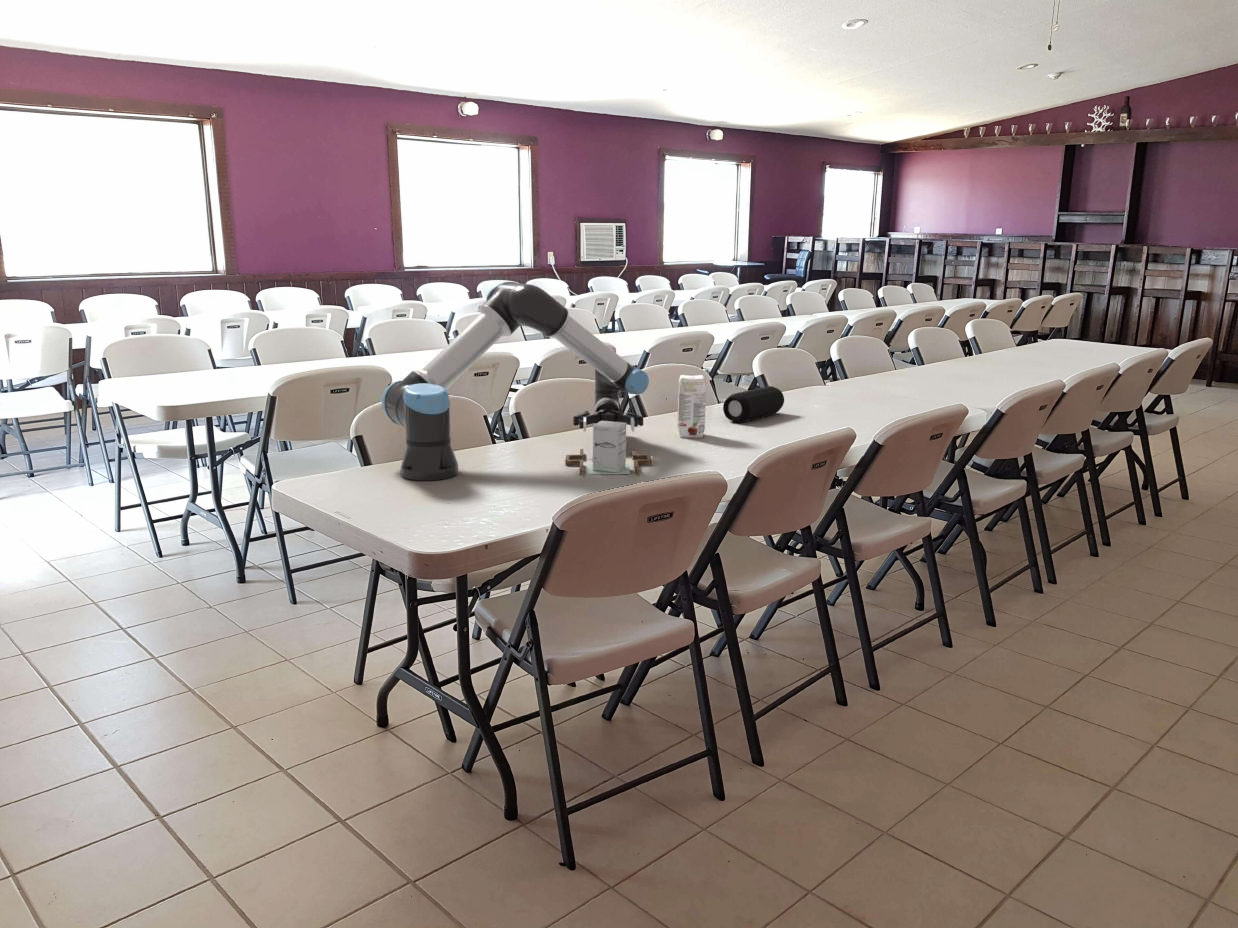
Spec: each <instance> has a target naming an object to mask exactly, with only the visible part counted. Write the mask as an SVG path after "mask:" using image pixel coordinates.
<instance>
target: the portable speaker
mask: <svg viewBox="0 0 1238 928" xmlns="http://www.w3.org/2000/svg"><path fill="white" fill-rule="evenodd" d="M784 404H785V396H784V394H783V391H781V390H780V389H779V388H777V387H774V386H772V385H768V386H763V387H758V388H753V389H749V390H745V391H744V390H743V391H740V392H736V393H733V394H731V395H729V396H728V397H727V398H726V399H725V400H724V402H723V405H722V407H723V408H722V410H723V411H722V412H723V414H724V416H725V417H726V418H727V419H728V420H729V421H731V422H734V423H738V424H739V423H744V422H748V421H752V419H753V420H757V419H759V418H760V419H761V418H763V416H764V417H767V415H768V416H772V415H774V414H776V413H778V412H779V411H780V410H781V409H782V407H783V406H784ZM771 414H772V415H771ZM756 418H757V419H756Z"/></svg>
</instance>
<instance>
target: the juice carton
mask: <svg viewBox="0 0 1238 928" xmlns="http://www.w3.org/2000/svg"><path fill="white" fill-rule="evenodd" d="M677 387H678V390H677V392H678V393H677V428H678V433H679V436H680V438H694V439H695V438H699V439H700V438H703V435H704V434H705V433H704V432H705V428H706V402H707V400H706V399H707V393H706V392H707V384H706V380H705V377H704V375H703V374H701V375H700V374H699V375H686V374H680V375H679V380H678V386H677Z"/></svg>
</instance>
